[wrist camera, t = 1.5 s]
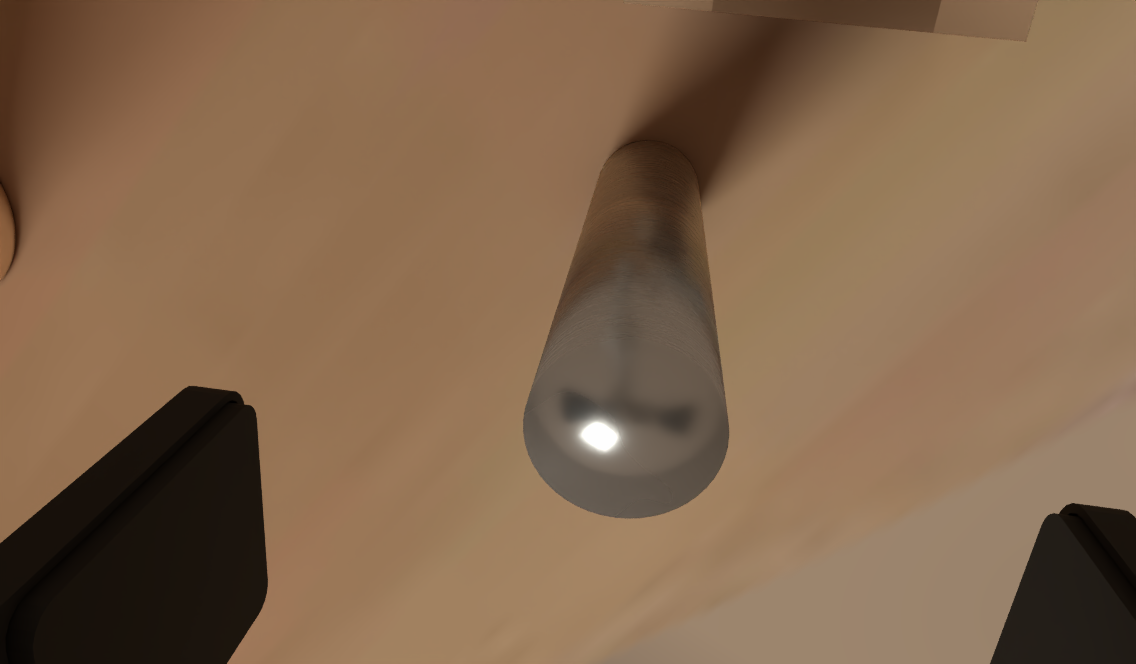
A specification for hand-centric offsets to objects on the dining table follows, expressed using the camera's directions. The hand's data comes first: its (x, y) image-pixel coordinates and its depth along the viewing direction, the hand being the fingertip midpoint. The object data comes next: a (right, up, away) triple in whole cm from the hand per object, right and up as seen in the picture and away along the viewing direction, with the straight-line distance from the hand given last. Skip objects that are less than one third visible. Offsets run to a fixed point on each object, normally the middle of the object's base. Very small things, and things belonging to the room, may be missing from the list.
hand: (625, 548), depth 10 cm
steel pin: (+2, +6, +13) cm, 15 cm away
